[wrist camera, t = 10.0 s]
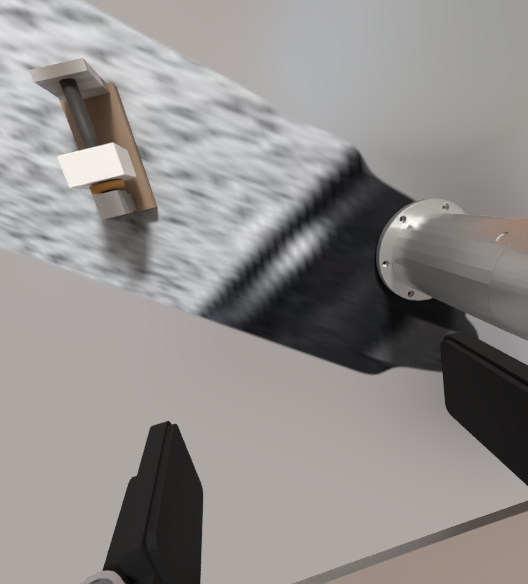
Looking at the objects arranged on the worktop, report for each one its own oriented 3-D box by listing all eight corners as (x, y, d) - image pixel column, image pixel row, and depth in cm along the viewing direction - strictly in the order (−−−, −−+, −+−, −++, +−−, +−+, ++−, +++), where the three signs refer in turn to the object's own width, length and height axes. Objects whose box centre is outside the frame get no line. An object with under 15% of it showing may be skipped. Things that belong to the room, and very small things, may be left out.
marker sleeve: (127, 150, 29) (113, 142, 25) (136, 177, 30) (124, 174, 26) (79, 162, 29) (56, 156, 25) (89, 189, 30) (69, 187, 26)
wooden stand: (116, 87, 31) (88, 55, 24) (157, 206, 35) (142, 209, 28) (64, 99, 31) (20, 70, 24) (111, 218, 34) (84, 224, 27)
